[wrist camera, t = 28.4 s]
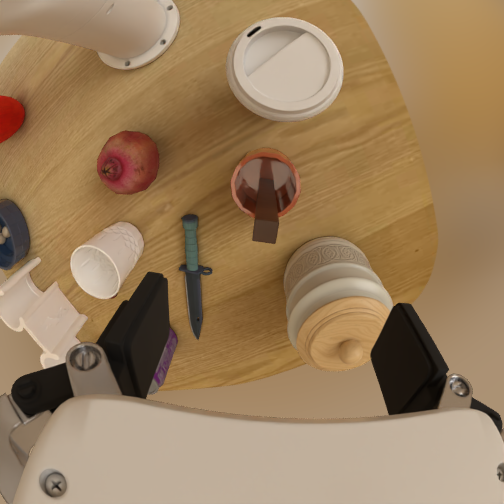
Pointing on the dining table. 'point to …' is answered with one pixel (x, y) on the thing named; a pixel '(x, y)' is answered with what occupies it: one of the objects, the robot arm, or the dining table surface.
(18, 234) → the bowl
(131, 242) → the white cup
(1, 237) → the bead
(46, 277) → the dining table surface
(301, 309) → the jar
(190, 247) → the knife
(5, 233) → the bead
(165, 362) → the beverage can
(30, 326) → the bracket
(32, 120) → the dining table surface
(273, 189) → the stick
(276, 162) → the holder
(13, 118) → the apple
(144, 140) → the fruit
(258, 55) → the coffee cup
